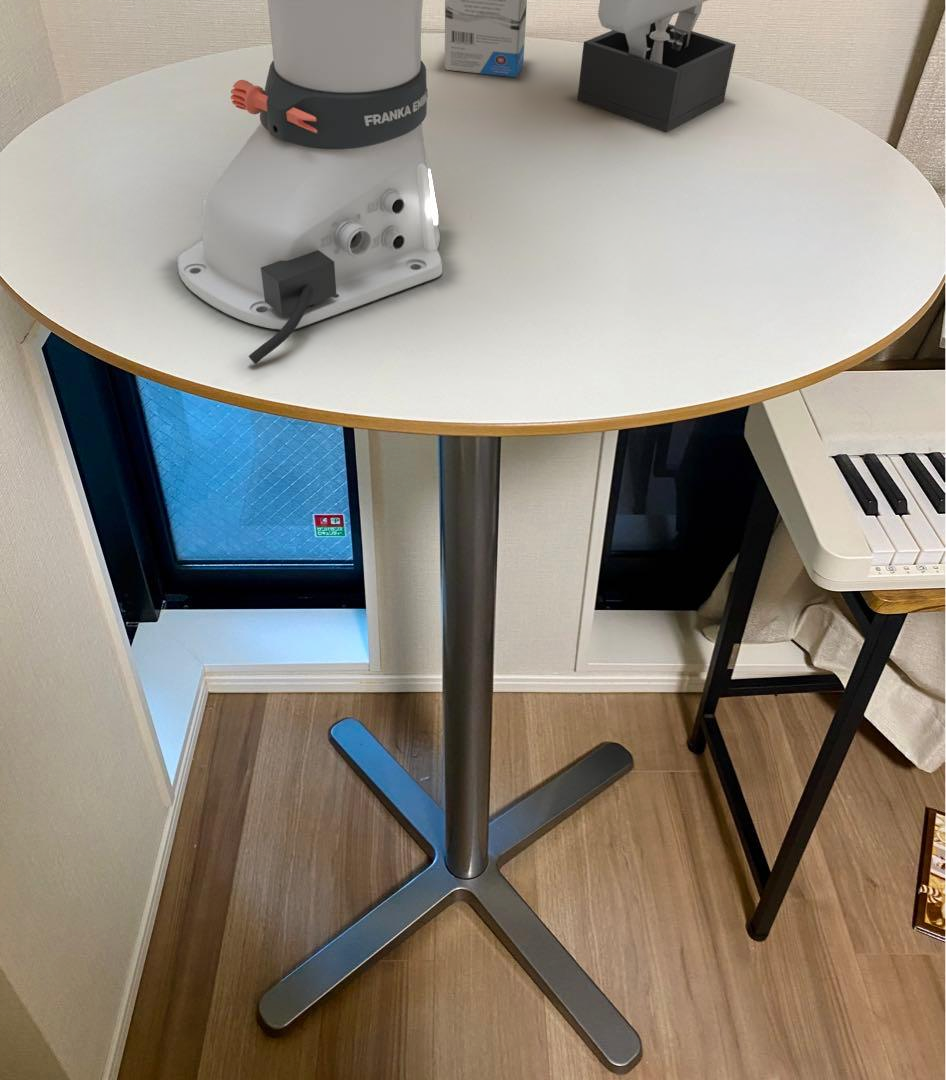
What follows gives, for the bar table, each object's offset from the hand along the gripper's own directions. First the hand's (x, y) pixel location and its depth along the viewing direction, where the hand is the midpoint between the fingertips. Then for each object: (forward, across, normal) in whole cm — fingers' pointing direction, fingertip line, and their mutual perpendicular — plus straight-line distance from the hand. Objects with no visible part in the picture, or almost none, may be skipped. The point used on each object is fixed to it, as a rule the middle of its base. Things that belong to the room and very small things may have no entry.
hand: (657, 56), depth 105 cm
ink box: (+5, -6, +19) cm, 20 cm away
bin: (+5, 0, 0) cm, 5 cm away
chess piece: (+4, 0, 0) cm, 4 cm away
